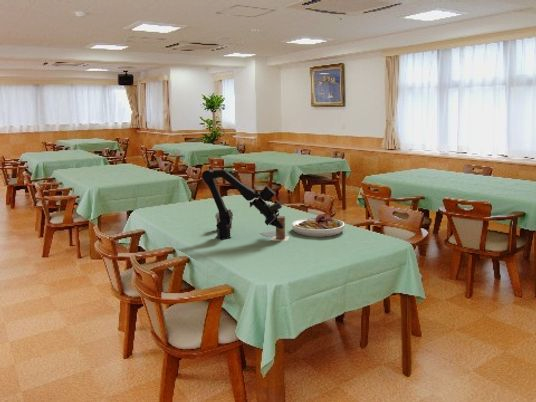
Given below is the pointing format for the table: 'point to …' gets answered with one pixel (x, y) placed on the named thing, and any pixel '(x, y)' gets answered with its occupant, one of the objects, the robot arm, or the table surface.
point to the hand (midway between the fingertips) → (283, 227)
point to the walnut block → (280, 232)
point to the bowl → (318, 226)
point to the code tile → (279, 239)
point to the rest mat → (268, 234)
